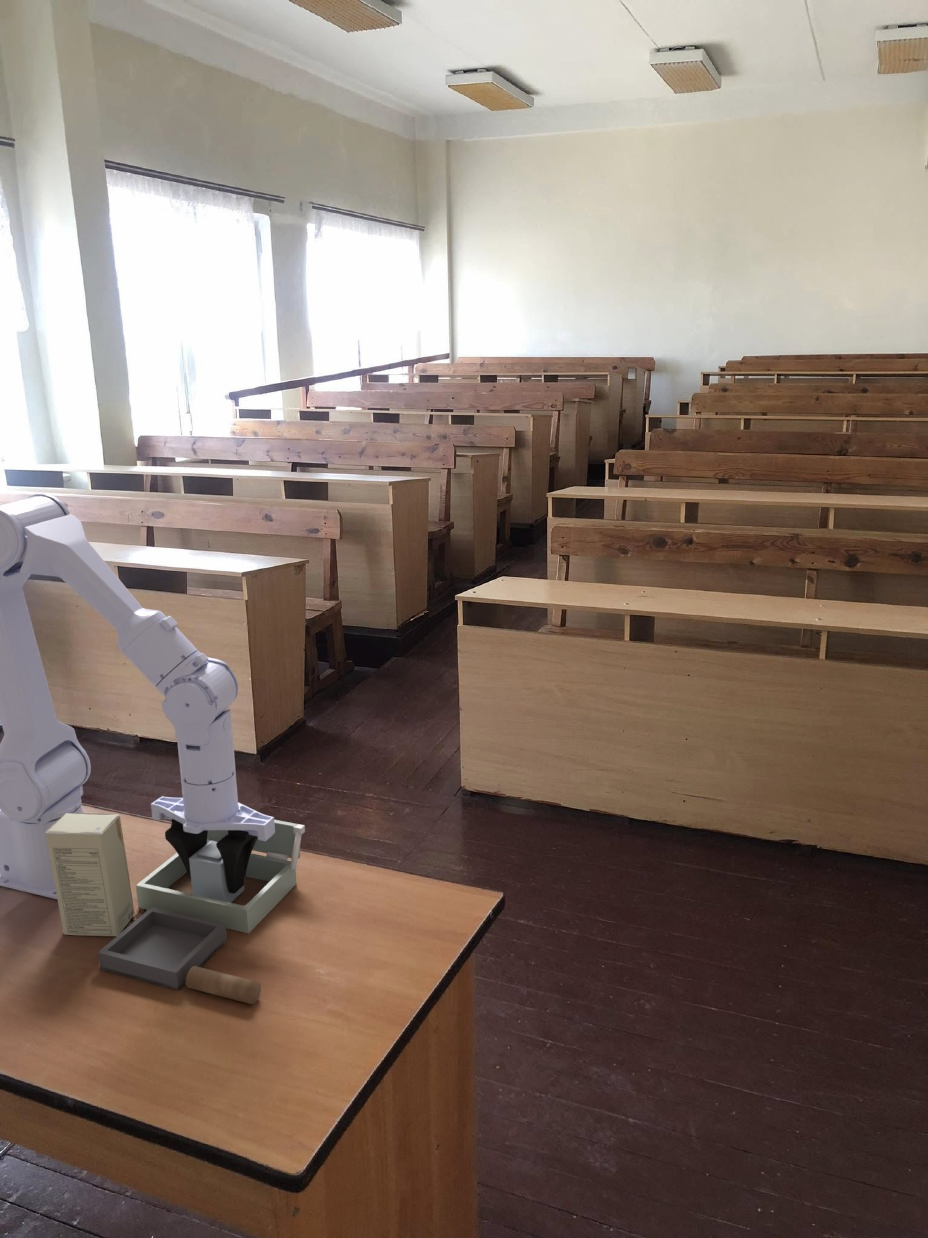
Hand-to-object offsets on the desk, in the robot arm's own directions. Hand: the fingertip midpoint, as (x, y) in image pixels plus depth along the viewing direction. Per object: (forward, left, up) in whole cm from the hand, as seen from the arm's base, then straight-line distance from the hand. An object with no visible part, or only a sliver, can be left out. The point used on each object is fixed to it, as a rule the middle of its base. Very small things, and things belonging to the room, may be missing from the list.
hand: (218, 884), depth 104 cm
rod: (+10, -14, -1) cm, 17 cm away
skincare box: (-9, -9, -2) cm, 13 cm away
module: (0, 0, -2) cm, 2 cm away
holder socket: (+1, -11, -1) cm, 11 cm away
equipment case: (0, 0, -1) cm, 1 cm away
